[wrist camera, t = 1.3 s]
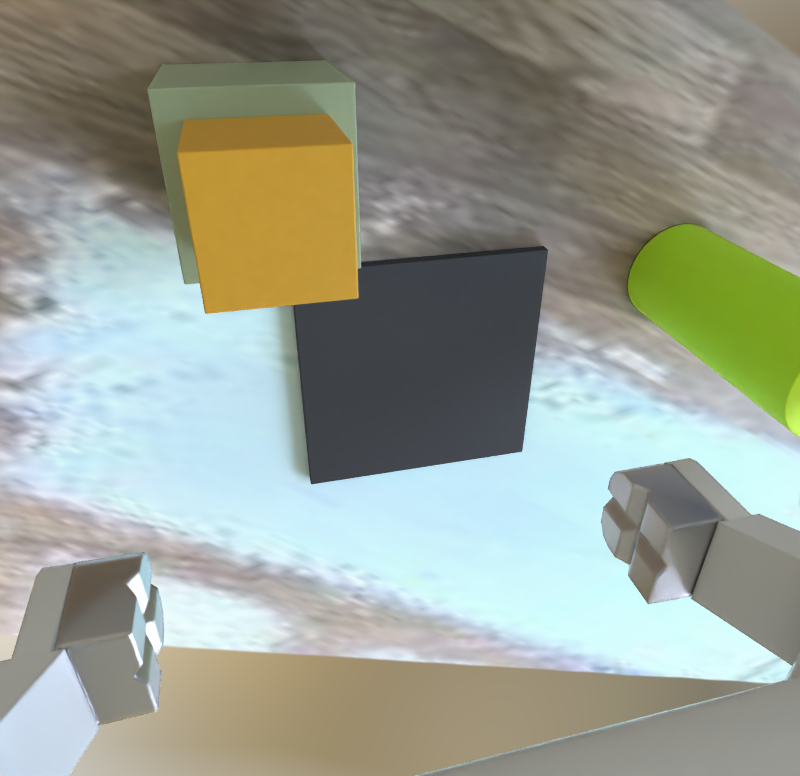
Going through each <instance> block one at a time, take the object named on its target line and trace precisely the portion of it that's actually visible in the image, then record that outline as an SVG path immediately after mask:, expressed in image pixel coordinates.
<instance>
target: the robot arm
mask: <svg viewBox="0 0 800 776" xmlns="http://www.w3.org/2000/svg"><path fill="white" fill-rule="evenodd" d="M608 490H609V491H610V493H611V494H612V496H613V497H612V498H611V500H610V501H609V502H608V503H607V504H606V505H605V506H604V507H603V513H602V519H601V524H602V530H603V536H604V538H605V541H606V543H607V545H608V547H609V549H610V550H611V552H612V553H613V555H614V556H615V557H616V558H618V559H620V560H622V561H623V562H625V563H627V564H629V571H628V576H629V578H630V579H631V580H632V582H633V583H634V585H635V586H636V588H637V589H638V590H639V592H640V593H641V595H642V596H643V597H644V599H645V600H646V602H647V603H648V604H652V603H657V602H663V601H668V600H673V599H679V598H684V597H689V596H692V597H691V599H693V600H694V601H696V602H697V603H699V604H700V605H702V606H703V607H705V608H706V609H708V610H709V611H711V612H712V613H714V614H715V615H717V616H718V617H720V618H721V619H723V620H724V621H726V622H727V623H729V624H730V625H732V626H733V627H735V628H736V629H738V630H739V631H741V632H742V633H744V634H745V635H747V636H748V637H750V638H751V639H753V640H754V641H756V642H757V643H759V644H760V645H762V646H763V647H765V648H766V649H768V650H769V651H771V652H772V653H774V654H775V655H777V656H778V657H780V658H781V659H783V660H784V661H786V662H787V663H789V664H790V665H792V668H791V670H790V672H789V673H788V675H787V677H786V679H785V680H784V681H781V682H777V683H773V684H769V685H765V686H762V687H757V688H753V689H749V690H746V691H742V692H738V693H734V694H730V695H726V696H722V697H719V698H715V699H711V700H707V701H703V702H699V703H696V704H691V705H687V706H684V707H680V708H676V709H672V710H668V711H664V712H660V713H656V714H652V715H649V716H644V717H641V718H637V719H633V720H629V721H625V722H621V723H617V724H613V725H610V726H606V727H602V728H598V729H594V730H591V731H586V732H582V733H578V734H575V735H571V736H567V737H563V738H559V739H556V740H551V741H548V742H544V743H540V744H536V745H532V746H529V747H524V748H520V749H517V750H512V751H509V752H505V753H501V754H497V755H493V756H489V757H485V758H481V759H477V760H474V761H470V762H466V763H462V764H458V765H454V766H450V767H447V768H443V769H439V770H435V771H431V772H427V773H423V774H419V775H415V776H800V531H798V530H795V529H793V528H791V527H788V526H786V525H784V524H781V523H779V522H777V521H774V520H772V519H770V518H767V517H765V516H763V515H760V514H756V515H751V514H750V513H749V512H748V511H747V510H746V509H745V508H744V507H743V506H742V505H741V504H740V503H739V502H738V501H737V500H736V499H735V498H734V497H733V496H732V495H731V494H730V493H729V492H728V491H727V490H726V489H724V488H723V487H722V486H721V485H720V484H719V483H718V482H717V481H716V480H715V479H714V478H713V477H712V476H711V475H710V474H709V473H708V472H707V471H706V470H705V469H704V468H703V467H702V466H701V465H700V464H699V463H698V462H697V461H695V460H692V459H690V458H688V459H683V460H677V461H672V462H666V463H664V464H656V465H651V466H645V467H639V468H634V469H628V470H623V471H617V472H615V473H614V474H613V475H612V477H611V478H610V481H609V486H608ZM151 575H152V567H151V564H150V561H149V558H148V555H147V554H146V553H144V552H142V553H136V554H129V555H122V556H115V557H108V558H101V559H95V560H88V561H81V562H77V563H73V564H66V565H59V566H52V567H44V568H42V569H41V571H40V572H39V573H38V575H37V576H36V578H35V581H34V585H33V588H32V591H31V595H30V598H29V602H28V605H27V608H26V612H25V615H24V618H23V622H22V625H21V628H20V632H19V635H18V638H17V642H16V645H15V649H14V652H13V655H12V659H9V660H4V661H0V776H69V775H70V773H71V772H72V770H73V769H74V767H75V766H76V764H77V763H78V761H79V760H80V758H81V756H82V755H83V753H84V752H85V750H86V749H87V747H88V746H89V744H90V743H91V741H92V740H93V738H94V737H95V735H96V733H97V732H98V730H99V727H98V726H99V725H103V724H107V723H111V722H115V721H119V720H123V719H127V718H131V717H136V716H139V715H144V714H148V713H152V712H156V711H158V706H159V693H160V681H161V670H160V667H159V663H158V660H157V657H156V655H157V654H158V653H159V652H160V650H161V649H162V648H163V639H164V622H163V609H162V603H161V598H160V594H159V591H158V588H157V587H155V586H153V585H152V584H151Z"/></svg>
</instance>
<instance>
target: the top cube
mask: <svg viewBox="0 0 800 776" xmlns="http://www.w3.org/2000/svg"><path fill="white" fill-rule="evenodd" d="M177 159H178V165H179V170H180V176H181V182H182V187H183V193H184V198H185V204H186V210H187V215H188V221H189V226H190V232H191V237H192V243H193V249H194V254H195V260H196V265H197V271H198V277H199V282H200V288H201V293H202V299H203V304H204V310H205V313H207V314H208V313H218V312H228V311H238V310H248V309H258V308H268V307H278V306H288V305H298V304H308V303H318V302H328V301H338V300H348V299H357V298H358V297H359V295H358V269H357V242H356V216H355V189H354V162H353V144H352V142H351V141H350V140H349V139H348V138H347V136H346V135H345V134H344V133H343V131H342V130H341V129H340V128H339V126H338V125H337V124H336V123H335V122H334V120H333V119H332V118H331V117H330V115H329V114H306V115H283V116H259V117H236V118H212V119H189V120H184V122H183V127H182V131H181V136H180V141H179V145H178V150H177Z"/></svg>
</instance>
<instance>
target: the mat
mask: <svg viewBox="0 0 800 776" xmlns="http://www.w3.org/2000/svg"><path fill="white" fill-rule="evenodd" d="M547 253H548V250H547V249H546V248H545V247H544V246H541V247H530V248H518V249H507V250H496V251H485V252H474V253H462V254H451V255H440V256H429V257H417V258H406V259H395V260H384V261H373V262H361V268H360V269H358V295H359V297H358V298H357V299H348V300H338V301H328V302H318V303H308V304H298V305H293V306H294V317H295V327H296V337H297V348H298V358H299V368H300V378H301V389H302V399H303V409H304V420H305V430H306V440H307V450H308V461H309V471H310V480H311V484H316V483H323V482H329V481H336V480H342V479H349V478H355V477H361V476H368V475H374V474H381V473H387V472H394V471H400V470H406V469H413V468H419V467H426V466H432V465H439V464H445V463H451V462H458V461H464V460H471V459H477V458H484V457H490V456H497V455H503V454H509V453H516V452H522V448H523V440H524V432H525V424H526V416H527V409H528V401H529V393H530V385H531V378H532V370H533V362H534V354H535V346H536V339H537V331H538V323H539V315H540V307H541V300H542V292H543V284H544V276H545V268H546V261H547Z"/></svg>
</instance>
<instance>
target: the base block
mask: <svg viewBox="0 0 800 776" xmlns="http://www.w3.org/2000/svg"><path fill="white" fill-rule="evenodd" d="M147 93H148V98H149V103H150V108H151V114H152V119H153V124H154V129H155V134H156V140H157V145H158V150H159V155H160V160H161V166H162V171H163V176H164V181H165V186H166V191H167V197H168V202H169V207H170V212H171V217H172V223H173V228H174V233H175V238H176V243H177V248H178V254H179V259H180V264H181V269H182V274H183V280H184V283H185V284H195V283H200V282H199V277H198V271H197V265H196V260H195V254H194V249H193V243H192V237H191V232H190V226H189V221H188V215H187V210H186V204H185V198H184V193H183V187H182V182H181V176H180V170H179V165H178V159H177V150H178V145H179V141H180V136H181V131H182V127H183V122H184V120H189V119H212V118H236V117H259V116H283V115H306V114H329V115H330V117H331V118H332V119H333V120H334V122H335V123H336V124H337V125H338V126H339V128H340V129H341V130H342V131H343V133H344V134H345V135H346V136H347V138H348V139H349V140H350V141H351V142H352V144H353V162H354V189H355V216H356V242H357V269H360V268H361V245H360V215H359V186H358V157H357V127H356V98H355V82H354V81H353V80H351V79H350V78H349V77H347V76H346V75H345V74H343V73H342V72H341V71H340V70H338V69H337V68H336V67H334V66H333V65H332V64H330V63H329V62H328V61H326V60H317V61H279V62H241V63H203V64H165V65H161V67H160V68H159V70H158V72H157V73H156V75H155V77H154V78H153V80H152V82H151V83H150V85H149V87H148V88H147Z"/></svg>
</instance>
